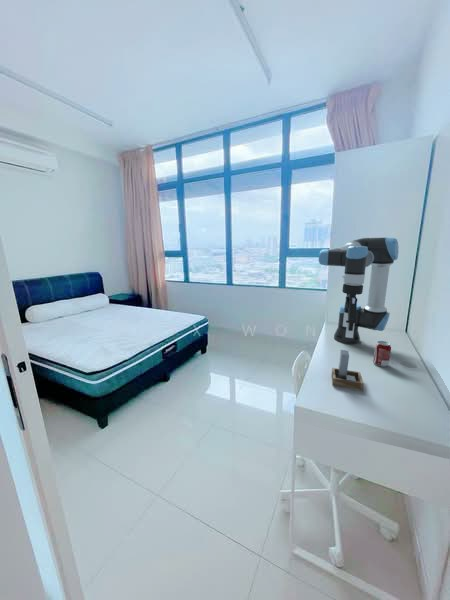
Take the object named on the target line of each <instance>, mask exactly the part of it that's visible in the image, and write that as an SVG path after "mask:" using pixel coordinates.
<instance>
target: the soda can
mask: <svg viewBox="0 0 450 600" xmlns="http://www.w3.org/2000/svg"><path fill="white" fill-rule="evenodd" d="M391 351H392V346H391V343H390V342H388V341H385V340H378V341H377V343H375V347H374V355H373V360H372V362H373V363H374V364H375V365H376V366H379V367H382V368H385V367H388V366H389V364H390V357H391Z"/></svg>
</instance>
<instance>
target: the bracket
mask: <svg viewBox="0 0 450 600" xmlns="http://www.w3.org/2000/svg"><path fill="white" fill-rule="evenodd" d="M339 354H340V355H339V363H338V368H337V369H338V378H340V379H346V380H352V381H356V379H355V376H351V375H347V370H348V369H349V368H348V367H349V360H350V353H349V350H344V349H340V353H339Z"/></svg>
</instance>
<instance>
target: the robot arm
mask: <svg viewBox="0 0 450 600" xmlns="http://www.w3.org/2000/svg"><path fill="white" fill-rule="evenodd" d="M398 258H399V242H398V239H397V238H396V237H395V238H394V237H362V238H358V239H354V240H352V241H348V242H347V243H345V245H342V246H339V247H335V248H333V249H332V248H331V249H330V248H329V249H328V248H327V249H326V248H325V249H321V250H320V251H319V255H318V263H319V264H320V266H326V267H327V266H331V267H333V266H334V267H344V275H342V279H343V284H342V290H341V291H342V293H343V294H346V296H345V303H344V304H343V305H341V306H340V308H339V312H338V313H339V314H338V323H337V324H338V326H337V329H336V330H335V333H334V335H333V339H334V340H335V341H337V342H340V343H342V344H348V345H356V344H357V345H358V344H359V343H360V340H361V336H360V331H359V328H362V329H363V328H364V329H368V330H372V331H379V332H383V331H385V329H386V326H387V325H388V321H389V318H390V314H391V313H390V312H388V308H387V307H386V306H385V303H386V295H387V288H388V282H389V281H388V280H389V276H390V275H389V273H390V267H391V266H392V264H394V261H397V260H398ZM370 265H371V268H370V269H371V270H370V278H369V289H368V295H367V296H368V297H367V304H366V305H364V306H363V307H364V308H362V305H360V304H358V298H357V295H358V296H359V295H362V294H363V291H364V285H363V284H364V283H365V277H366V276H365V275H366V268H368V267H369V266H370Z"/></svg>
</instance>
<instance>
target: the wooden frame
mask: <svg viewBox="0 0 450 600" xmlns="http://www.w3.org/2000/svg"><path fill="white" fill-rule="evenodd" d="M338 369H339V368H336V367H332V368H331V384H332V386H333V385H334V386H333V387H338V386H339V388H345V389H349V388H350V389H351V390H355V391H361V392H363V391H364V386H365V385H364V381H363V377H362V373H361V372H360V371H355V370H354V371H353V370H348V369H347V375H351V376H355V379H356V381H352V380H346V379H340V378H338Z"/></svg>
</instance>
